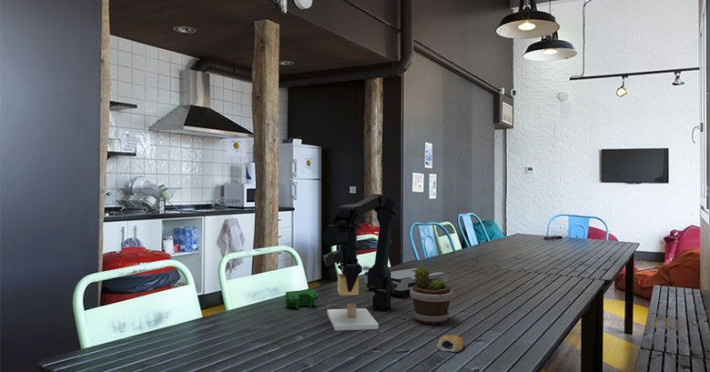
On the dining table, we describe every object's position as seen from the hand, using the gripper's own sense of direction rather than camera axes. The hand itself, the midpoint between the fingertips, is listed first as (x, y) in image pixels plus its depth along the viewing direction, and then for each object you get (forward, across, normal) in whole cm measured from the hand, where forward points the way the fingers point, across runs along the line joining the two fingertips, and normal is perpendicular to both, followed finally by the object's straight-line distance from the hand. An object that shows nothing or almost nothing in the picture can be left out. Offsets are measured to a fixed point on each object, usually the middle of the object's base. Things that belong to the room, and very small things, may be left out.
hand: (348, 289), depth 168 cm
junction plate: (+11, 0, +1) cm, 11 cm away
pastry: (+11, +30, +25) cm, 41 cm away
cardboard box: (+1, 0, 0) cm, 1 cm away
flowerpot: (+11, +3, +28) cm, 30 cm away
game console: (+12, -46, +33) cm, 58 cm away
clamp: (+11, -20, -14) cm, 27 cm away
